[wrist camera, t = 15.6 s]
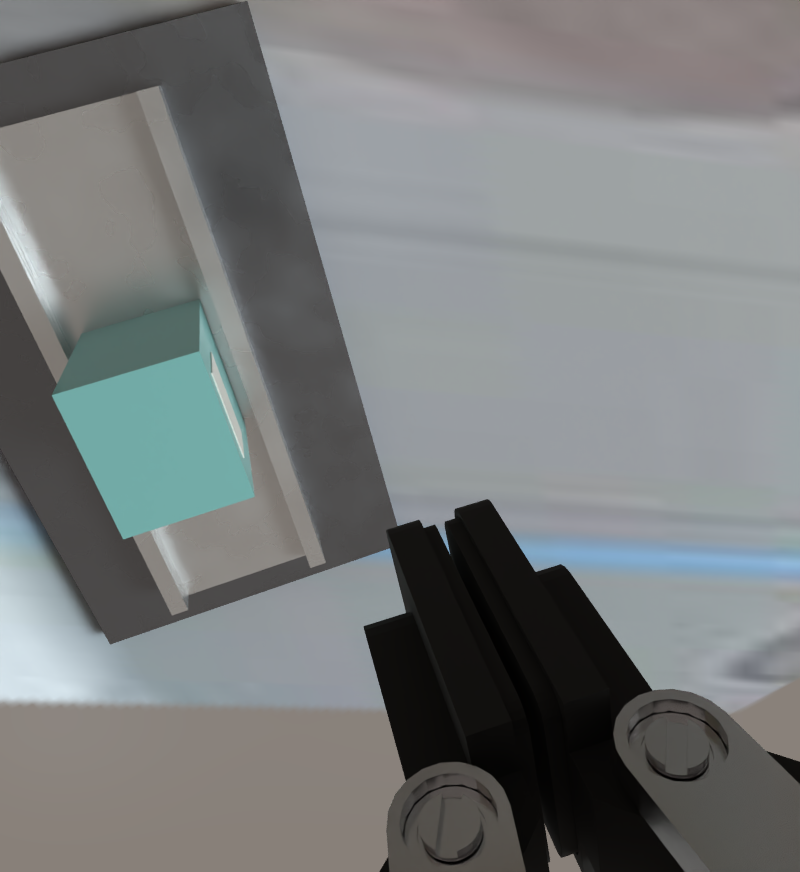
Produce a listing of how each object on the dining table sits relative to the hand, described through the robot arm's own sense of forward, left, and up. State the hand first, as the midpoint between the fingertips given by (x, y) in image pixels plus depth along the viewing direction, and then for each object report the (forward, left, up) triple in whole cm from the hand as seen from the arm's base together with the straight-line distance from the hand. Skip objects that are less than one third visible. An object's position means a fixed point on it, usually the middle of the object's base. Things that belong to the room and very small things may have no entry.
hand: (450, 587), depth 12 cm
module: (+3, -7, -23) cm, 24 cm away
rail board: (+3, -7, -25) cm, 26 cm away
